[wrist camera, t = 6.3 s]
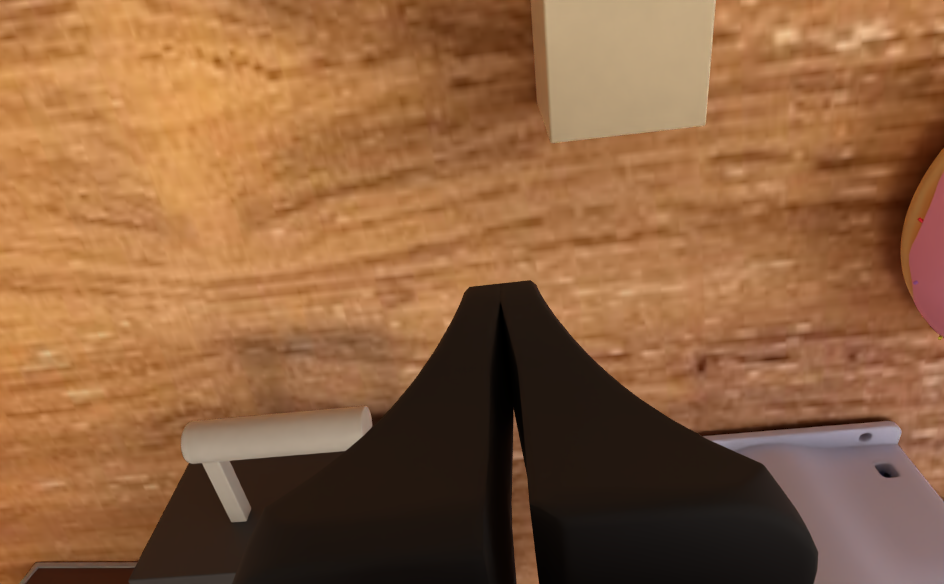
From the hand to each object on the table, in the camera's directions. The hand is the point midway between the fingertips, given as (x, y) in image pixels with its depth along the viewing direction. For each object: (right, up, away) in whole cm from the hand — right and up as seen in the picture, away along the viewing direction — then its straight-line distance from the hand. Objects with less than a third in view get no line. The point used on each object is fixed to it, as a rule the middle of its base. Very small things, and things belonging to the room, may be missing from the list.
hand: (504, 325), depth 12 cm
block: (+3, +8, +6) cm, 11 cm away
